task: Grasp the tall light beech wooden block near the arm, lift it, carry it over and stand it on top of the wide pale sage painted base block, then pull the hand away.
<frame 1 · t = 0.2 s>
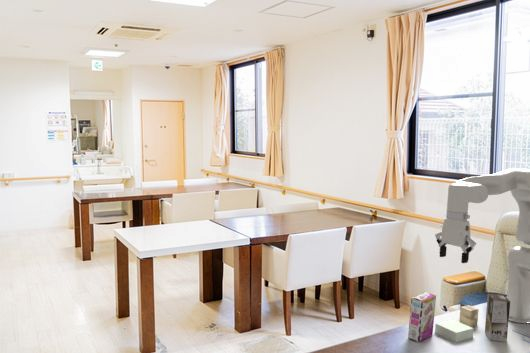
hand: (453, 259, 192), 31 cm above the table, tool pointing down, fingers open, 9 cm apart
coffee box: (495, 337, 196), on the table
candy bar box: (420, 337, 193), on the table
sage base block: (453, 335, 197), on the table
beech block: (468, 324, 208), on the table
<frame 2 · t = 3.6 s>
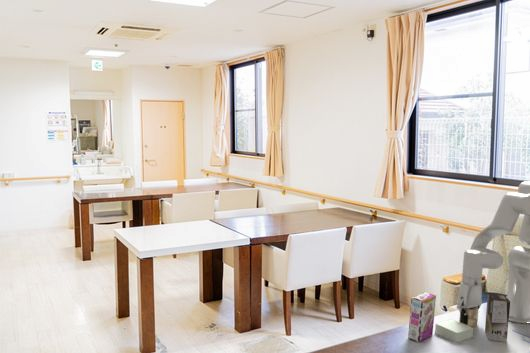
hand: (468, 321, 208), 1 cm above the table, tool pointing down, fingers closed on beech block, 5 cm apart
beech block: (468, 324, 208), on the table, touching gripper
everything else where it was.
when the fingers open (6 cm above the table, at t = 10.0 s): beech block drops 1 cm, resting on sage base block.
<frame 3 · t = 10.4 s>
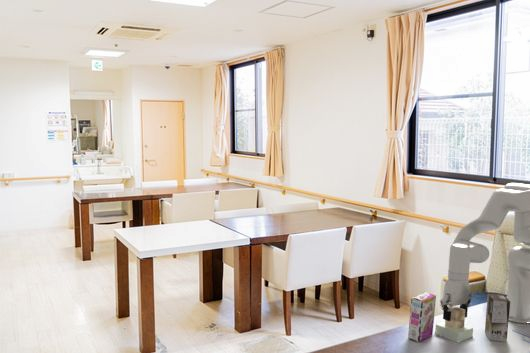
hand: (455, 318, 196), 7 cm above the table, tool pointing down, fingers open, 9 cm apart
sage base block: (453, 335, 196), on the table, touching beech block
beech block: (454, 325, 196), point 4 cm above the table, touching sage base block
everything else where it was.
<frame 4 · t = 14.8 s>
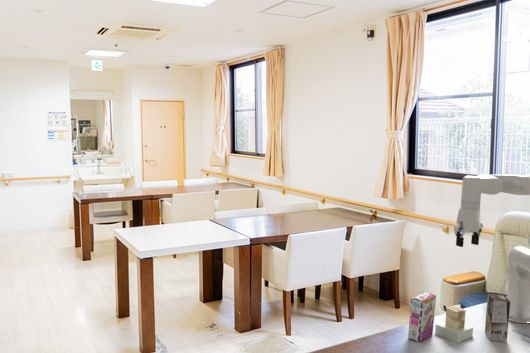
hand: (467, 245, 210), 32 cm above the table, tool pointing down, fingers open, 9 cm apart
nothing on the table moved.
at the end: beech block 0.2 cm off-centre on the sage base block, point 4.0 cm above the sage base block's base; beech block tilted 0°; the gripper is holding nothing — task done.
